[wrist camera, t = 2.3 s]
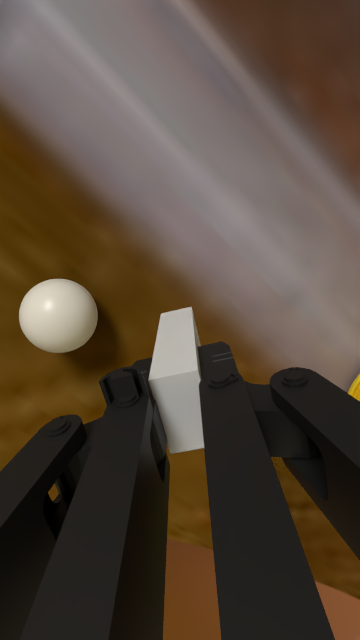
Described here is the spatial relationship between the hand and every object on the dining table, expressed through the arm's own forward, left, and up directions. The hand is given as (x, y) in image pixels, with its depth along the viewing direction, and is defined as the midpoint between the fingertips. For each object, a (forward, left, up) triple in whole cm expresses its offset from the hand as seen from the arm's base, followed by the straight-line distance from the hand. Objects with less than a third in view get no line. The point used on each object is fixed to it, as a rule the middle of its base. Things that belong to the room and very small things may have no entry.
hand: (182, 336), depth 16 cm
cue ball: (+9, 0, -8) cm, 13 cm away
